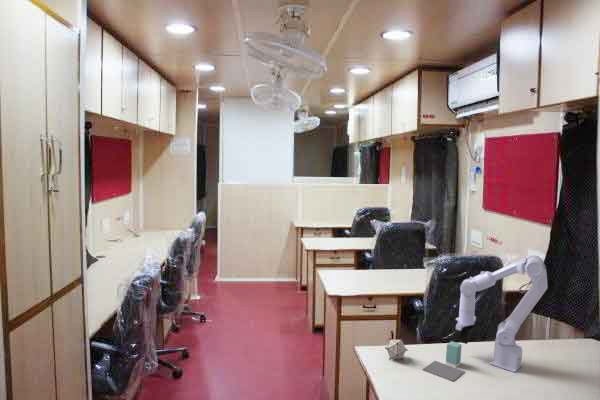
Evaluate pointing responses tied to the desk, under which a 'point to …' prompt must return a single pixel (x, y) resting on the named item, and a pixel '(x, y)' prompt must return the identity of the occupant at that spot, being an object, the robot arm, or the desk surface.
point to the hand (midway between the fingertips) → (464, 342)
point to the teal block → (453, 354)
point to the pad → (443, 370)
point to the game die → (396, 349)
